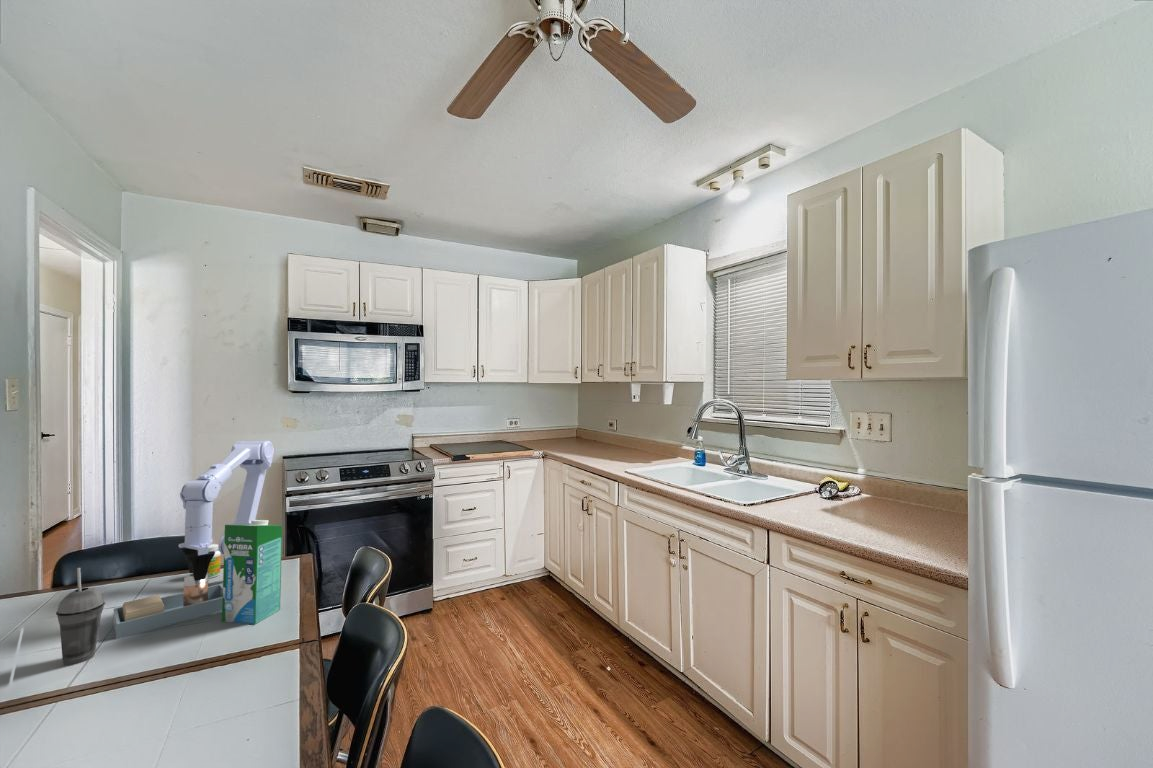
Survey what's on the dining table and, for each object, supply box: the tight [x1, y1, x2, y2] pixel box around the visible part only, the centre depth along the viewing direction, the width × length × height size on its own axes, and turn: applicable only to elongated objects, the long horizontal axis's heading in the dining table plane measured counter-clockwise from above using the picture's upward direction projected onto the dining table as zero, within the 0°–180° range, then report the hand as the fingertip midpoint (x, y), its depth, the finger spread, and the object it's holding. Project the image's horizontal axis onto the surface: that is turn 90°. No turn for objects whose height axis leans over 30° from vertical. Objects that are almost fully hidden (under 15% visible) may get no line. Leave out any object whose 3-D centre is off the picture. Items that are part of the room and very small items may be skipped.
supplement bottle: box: [207, 543, 222, 579], centre depth 150 cm, size 5×5×10 cm
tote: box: [112, 583, 223, 640], centre depth 121 cm, size 22×12×4 cm, turn 137°
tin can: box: [183, 573, 209, 607], centre depth 124 cm, size 5×5×9 cm
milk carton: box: [221, 519, 283, 626], centre depth 122 cm, size 9×9×25 cm
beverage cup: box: [55, 567, 106, 666], centre depth 101 cm, size 7×7×20 cm
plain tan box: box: [122, 594, 164, 622], centre depth 117 cm, size 7×9×5 cm
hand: (197, 575), depth 125 cm, fingers open, 7 cm apart
